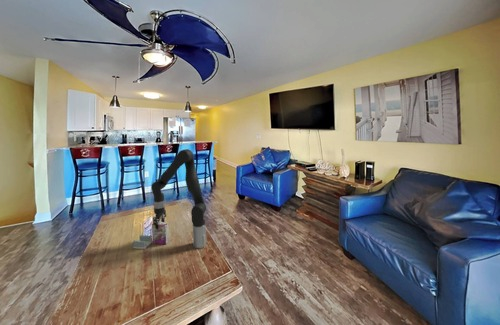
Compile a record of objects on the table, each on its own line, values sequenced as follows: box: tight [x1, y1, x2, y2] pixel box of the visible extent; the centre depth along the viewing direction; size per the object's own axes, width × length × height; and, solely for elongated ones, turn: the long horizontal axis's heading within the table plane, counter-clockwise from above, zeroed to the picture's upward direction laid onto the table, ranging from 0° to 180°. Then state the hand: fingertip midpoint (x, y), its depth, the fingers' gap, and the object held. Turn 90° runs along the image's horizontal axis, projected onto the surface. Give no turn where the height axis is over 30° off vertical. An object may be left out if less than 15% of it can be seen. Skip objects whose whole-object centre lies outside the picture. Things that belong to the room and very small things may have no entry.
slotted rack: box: [132, 234, 153, 250], centre depth 145 cm, size 9×9×5 cm
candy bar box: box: [151, 221, 170, 246], centre depth 148 cm, size 11×5×16 cm, turn 84°
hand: (160, 226), depth 147 cm, fingers open, 8 cm apart
